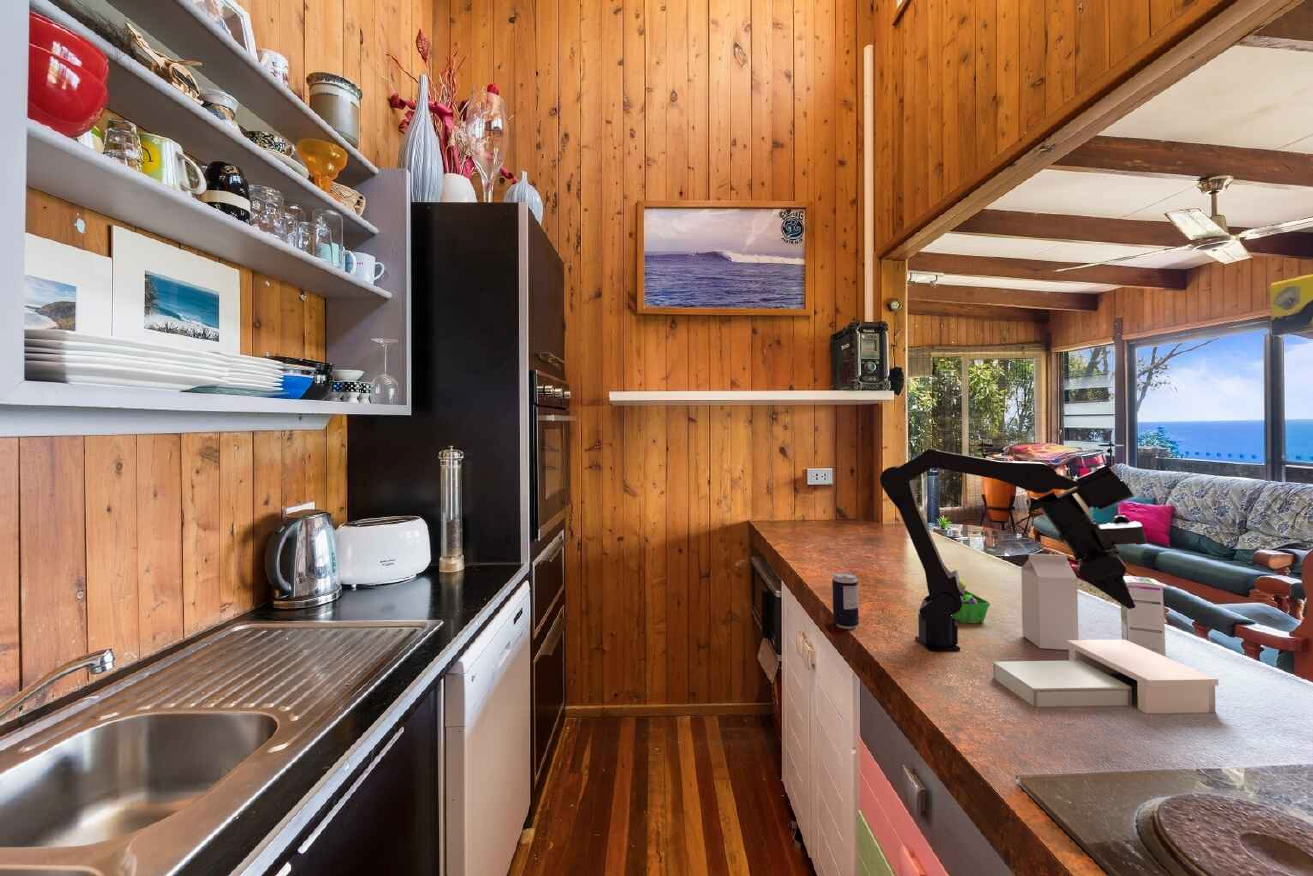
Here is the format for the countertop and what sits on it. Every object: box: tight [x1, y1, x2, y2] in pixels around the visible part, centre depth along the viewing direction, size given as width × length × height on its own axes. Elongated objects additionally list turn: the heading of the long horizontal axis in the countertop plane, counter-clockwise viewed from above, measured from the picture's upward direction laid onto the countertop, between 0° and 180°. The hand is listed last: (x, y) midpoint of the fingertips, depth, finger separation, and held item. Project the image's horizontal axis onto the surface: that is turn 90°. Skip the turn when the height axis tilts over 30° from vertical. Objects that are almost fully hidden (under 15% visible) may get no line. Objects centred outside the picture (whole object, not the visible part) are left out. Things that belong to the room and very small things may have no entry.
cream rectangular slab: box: [992, 660, 1133, 708], centre depth 88 cm, size 16×10×3 cm, turn 90°
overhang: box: [1067, 638, 1219, 714], centre depth 88 cm, size 11×16×6 cm
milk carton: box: [1020, 553, 1079, 651], centre depth 108 cm, size 7×7×19 cm
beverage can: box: [831, 571, 860, 630], centre depth 120 cm, size 6×6×12 cm
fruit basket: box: [950, 571, 991, 624], centre depth 125 cm, size 11×9×11 cm
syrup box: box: [1120, 575, 1167, 657], centre depth 104 cm, size 6×6×14 cm
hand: (1129, 599), depth 91 cm, fingers open, 9 cm apart
